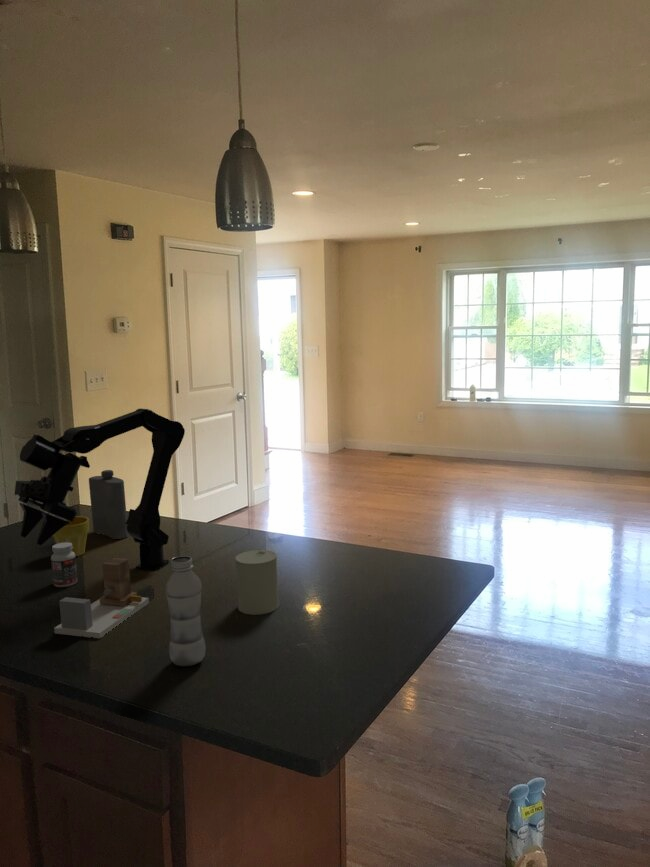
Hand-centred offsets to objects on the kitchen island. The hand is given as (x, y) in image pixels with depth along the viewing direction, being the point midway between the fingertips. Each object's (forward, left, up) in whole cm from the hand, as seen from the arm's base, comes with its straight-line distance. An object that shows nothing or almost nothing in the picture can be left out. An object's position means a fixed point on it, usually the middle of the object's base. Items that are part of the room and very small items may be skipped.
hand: (30, 540), depth 156 cm
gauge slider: (0, +22, -13) cm, 26 cm away
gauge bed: (+4, +21, -15) cm, 26 cm away
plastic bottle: (+19, +49, -15) cm, 55 cm away
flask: (-50, -14, -15) cm, 54 cm away
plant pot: (-31, -14, -15) cm, 38 cm away
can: (-8, +52, -15) cm, 55 cm away
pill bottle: (-11, -1, -15) cm, 19 cm away
